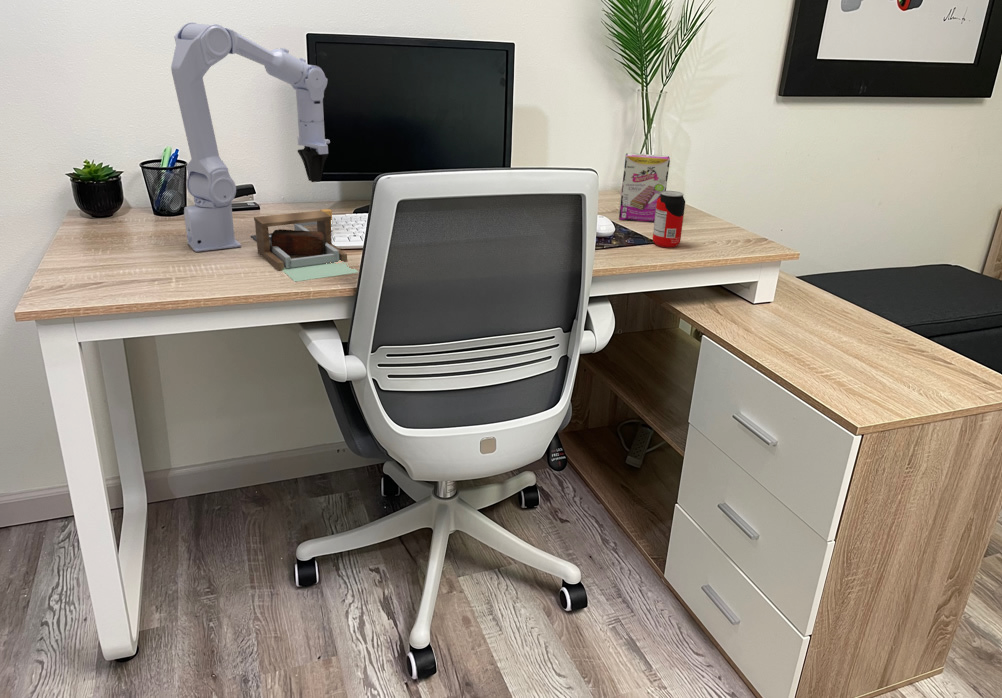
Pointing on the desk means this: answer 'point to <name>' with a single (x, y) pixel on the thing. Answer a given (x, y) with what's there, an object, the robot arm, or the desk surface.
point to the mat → (318, 271)
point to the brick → (299, 242)
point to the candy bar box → (642, 186)
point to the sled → (329, 256)
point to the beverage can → (668, 219)
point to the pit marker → (255, 237)
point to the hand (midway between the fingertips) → (314, 180)
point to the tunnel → (285, 219)
